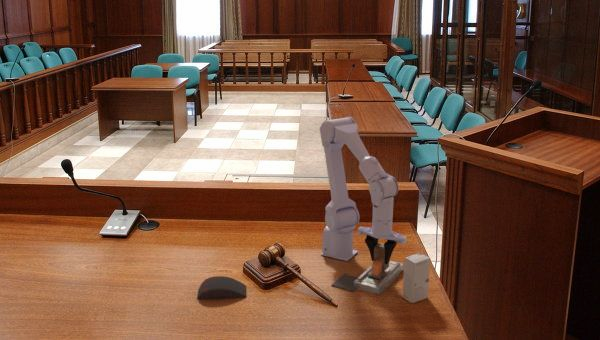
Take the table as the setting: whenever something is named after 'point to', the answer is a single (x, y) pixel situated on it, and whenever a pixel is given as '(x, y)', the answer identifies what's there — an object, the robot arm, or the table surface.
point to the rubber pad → (346, 282)
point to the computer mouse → (221, 288)
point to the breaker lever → (376, 270)
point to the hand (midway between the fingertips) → (380, 261)
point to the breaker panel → (377, 284)
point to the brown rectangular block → (380, 255)
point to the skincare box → (416, 277)
